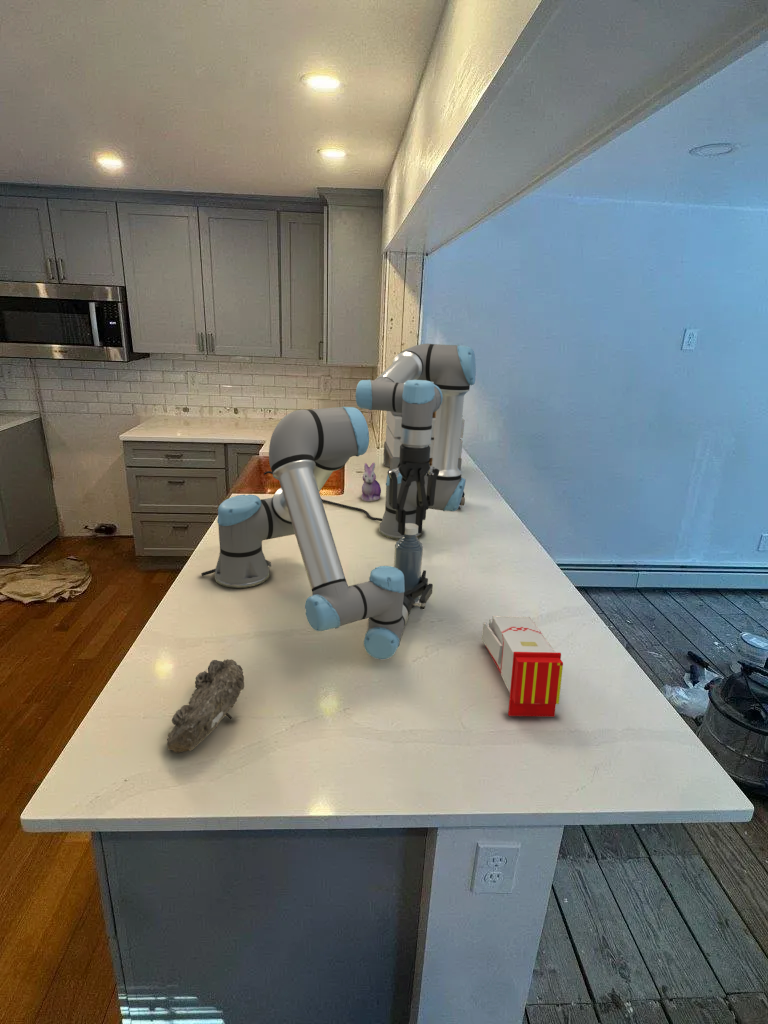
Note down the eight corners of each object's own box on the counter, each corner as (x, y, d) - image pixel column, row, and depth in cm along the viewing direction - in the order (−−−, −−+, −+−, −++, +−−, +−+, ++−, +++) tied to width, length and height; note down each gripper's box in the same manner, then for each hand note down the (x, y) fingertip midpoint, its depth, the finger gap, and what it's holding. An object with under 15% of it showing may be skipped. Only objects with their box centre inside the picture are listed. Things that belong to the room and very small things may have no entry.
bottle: (421, 596, 157) (426, 524, 150) (416, 608, 150) (421, 534, 143) (395, 592, 159) (399, 521, 152) (389, 604, 152) (393, 530, 145)
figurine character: (465, 514, 225) (460, 498, 239) (467, 497, 222) (461, 482, 235) (448, 514, 225) (444, 498, 239) (450, 496, 222) (445, 481, 235)
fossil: (192, 660, 117) (244, 628, 112) (224, 691, 120) (276, 661, 115) (142, 746, 98) (202, 712, 93) (182, 779, 101) (242, 748, 96)
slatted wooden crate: (382, 463, 289) (386, 382, 275) (445, 464, 293) (451, 384, 279) (390, 482, 257) (394, 392, 243) (460, 483, 261) (468, 394, 247)
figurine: (365, 503, 229) (367, 467, 224) (355, 495, 237) (356, 461, 232) (386, 500, 233) (388, 465, 228) (375, 493, 242) (376, 459, 237)
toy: (528, 601, 136) (572, 659, 107) (523, 653, 139) (565, 722, 110) (478, 600, 136) (508, 657, 107) (474, 652, 139) (503, 722, 109)
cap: (414, 528, 150) (414, 522, 150) (420, 534, 147) (420, 528, 146) (399, 529, 149) (399, 523, 148) (405, 535, 145) (405, 529, 145)
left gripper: (352, 620, 139) (373, 580, 160) (434, 633, 135) (445, 589, 157) (353, 593, 137) (374, 555, 158) (436, 605, 133) (447, 565, 154)
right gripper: (440, 439, 146) (433, 524, 154) (377, 442, 140) (373, 530, 148) (453, 446, 140) (445, 534, 148) (388, 449, 134) (384, 541, 142)
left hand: (409, 572), depth 157 cm, fingers closed on bottle, 7 cm apart
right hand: (409, 532), depth 148 cm, fingers closed on cap, 4 cm apart
